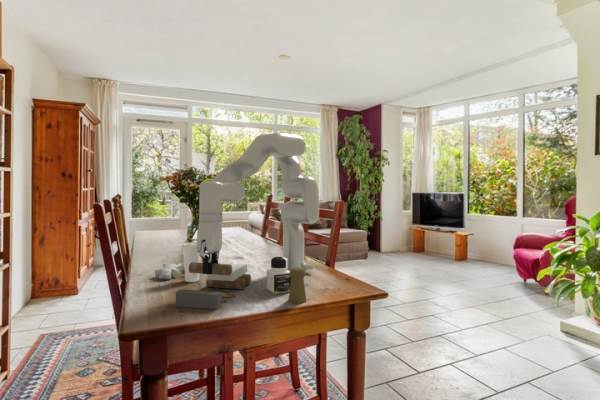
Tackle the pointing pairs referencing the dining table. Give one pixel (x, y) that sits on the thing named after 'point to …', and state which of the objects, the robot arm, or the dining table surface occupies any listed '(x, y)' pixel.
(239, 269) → the slab
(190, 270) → the roller
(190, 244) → the white cup
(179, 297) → the grey rectangular bar
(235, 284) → the track
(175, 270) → the bunny figurine
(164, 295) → the dining table surface
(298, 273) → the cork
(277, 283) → the medicine bottle
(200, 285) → the dining table surface
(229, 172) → the robot arm
